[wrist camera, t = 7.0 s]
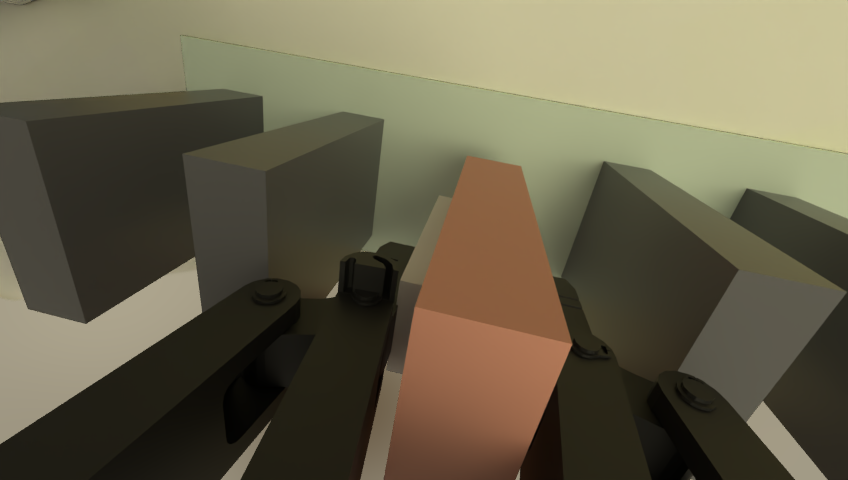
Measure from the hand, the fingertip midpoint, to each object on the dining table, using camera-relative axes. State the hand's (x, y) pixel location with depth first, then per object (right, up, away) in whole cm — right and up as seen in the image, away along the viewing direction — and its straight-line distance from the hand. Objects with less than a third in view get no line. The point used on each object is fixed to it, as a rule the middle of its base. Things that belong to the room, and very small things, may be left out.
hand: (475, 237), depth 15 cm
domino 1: (-11, +4, +5) cm, 13 cm away
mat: (+2, +2, +3) cm, 5 cm away
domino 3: (+6, 0, +3) cm, 7 cm away
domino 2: (-5, +3, +4) cm, 7 cm away
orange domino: (0, 0, 0) cm, 0 cm away
